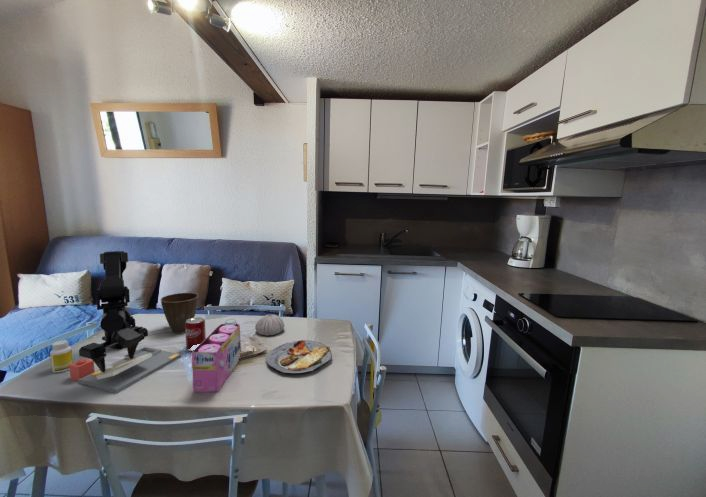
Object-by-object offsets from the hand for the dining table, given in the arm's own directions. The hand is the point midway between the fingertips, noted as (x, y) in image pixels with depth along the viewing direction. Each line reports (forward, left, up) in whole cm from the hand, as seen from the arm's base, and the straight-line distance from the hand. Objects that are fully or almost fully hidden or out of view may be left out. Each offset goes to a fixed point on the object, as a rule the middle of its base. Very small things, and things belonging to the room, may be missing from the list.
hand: (117, 364), depth 102 cm
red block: (-11, -4, -4) cm, 12 cm away
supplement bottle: (-22, -3, -4) cm, 23 cm away
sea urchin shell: (+28, +50, -4) cm, 57 cm away
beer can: (+23, +29, -4) cm, 37 cm away
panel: (+1, +5, -4) cm, 6 cm away
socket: (-3, +11, -3) cm, 12 cm away
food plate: (+53, +31, -5) cm, 61 cm away
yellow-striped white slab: (+4, 0, 0) cm, 4 cm away
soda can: (+9, +25, -4) cm, 27 cm away
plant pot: (-11, +37, -4) cm, 39 cm away
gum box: (+31, +13, -4) cm, 33 cm away
